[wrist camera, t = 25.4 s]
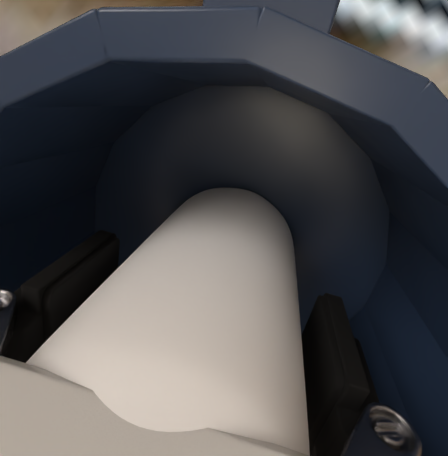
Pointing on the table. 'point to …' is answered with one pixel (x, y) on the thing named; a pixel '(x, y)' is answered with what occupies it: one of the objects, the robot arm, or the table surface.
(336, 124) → the pot
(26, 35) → the table surface
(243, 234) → the can
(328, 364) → the robot arm
